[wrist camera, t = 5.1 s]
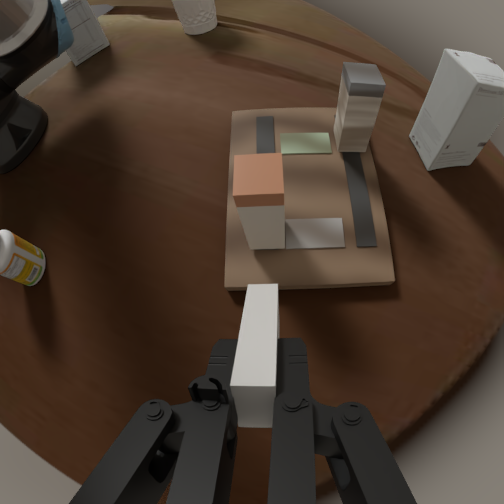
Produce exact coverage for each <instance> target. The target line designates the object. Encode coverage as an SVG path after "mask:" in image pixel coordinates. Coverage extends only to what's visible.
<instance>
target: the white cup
mask: <svg viewBox="0 0 504 504" xmlns="http://www.w3.org/2000/svg"><path fill="white" fill-rule="evenodd" d="M172 3H173V5H174V8H175V11H176V13H177V15H178V18H179V20H180V22H181V24H182V26H183V29H184V32H185V33H186V34H189V35H197V34H203V33H206V32H208V31H211V30H212V29H214V28H215V27H216V26H217V18H216V8H215V1H214V0H172Z"/></svg>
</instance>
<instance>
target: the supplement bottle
mask: <svg viewBox="0 0 504 504" xmlns="http://www.w3.org/2000/svg"><path fill="white" fill-rule="evenodd" d="M45 264H46V263H45V255H44V253H43V251H42V250H41V249H39V248H38V247H36V246H34V245H32V244H31V243H29V242H27V241H25V240H24V239H22V238H20V237H18V236H17V235H15V234H13V233H12V232H10V231H8V230H0V275H2V276H4V277H7V278H9V279H11V280H14V281H16V282H19V283H21V284H24V285H27V286H33V285H35V284H36V283H37V282H38V281H39V280H40V279H41V277H42V275H43V273H44V270H45Z"/></svg>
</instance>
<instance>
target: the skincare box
mask: <svg viewBox="0 0 504 504" xmlns="http://www.w3.org/2000/svg"><path fill="white" fill-rule="evenodd" d="M503 117H504V71H503V70H502V69H501V68H500V67H499V66H498V65H497V64H496V63H495V62H494V61H493V60H492V59H491V58H488V57H484V56H480V55H476V54H474V53H471V52H462V51H457V50H451V49H444V52H443V55H442V58H441V61H440V63H439V66H438V68H437V71H436V74H435V76H434V79H433V82H432V84H431V86H430V89H429V91H428V94H427V96H426V98H425V101H424V103H423V106H422V108H421V110H420V112H419V115H418V117H417V119H416V121H415V124H414V126H413V128H412V130H411V133H410V135H409V137H410V139H411V141H412V143H413V144H414V146H415V148H416V149H417V151H418V153H419V155H420V157H421V159H422V161H423V163H424V165H425V167H426V169H427V170H428V171H431V170H434V169H439V168H445V167H453V166H468V165H470V164H471V163H472V162H473V161H474V159H475V158H476V157H477V155H478V154H479V152H480V151H481V150H482V148H483V147H484V145H485V144H486V143H487V141H488V140H489V138H490V137H491V135H492V134H493V132H494V131H495V130H496V128H497V126H498V125H499V123H500V122H501V120H502V119H503Z"/></svg>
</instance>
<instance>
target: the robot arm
mask: <svg viewBox="0 0 504 504" xmlns="http://www.w3.org/2000/svg"><path fill="white" fill-rule="evenodd" d="M73 42H74V35H73V32H72V30H71V27H70V25H69V22H68V20H67V17H66V15H65V12H64V9H63V6H62V4H61V1H60V0H0V173H1V174H3V173H7V172H9V171H11V170H12V169H14V168H15V167H16V166H17V165H19V164H20V163H21V162H22V161H23V160H24V159H25V158H26V157H27V156H28V154H29V153H30V152H31V151H32V149H33V148H34V147H35V145H36V144H37V142H38V141H39V139H40V138H41V136H42V134H43V132H44V130H45V128H46V125H47V120H48V116H47V114H46V112H45V111H44V110H43V109H42V107H40V106H39V105H36V104H34V103H33V102H31V101H29V100H27V99H25V98H24V97H22V96H20V95H19V94H18V93H17V92H16V91H15V89H16V88H17V87H18V86H19V85H21V83H23V82H24V81H25V80H27V79H28V78H29V77H31V76H32V75H33V74H34V73H36V72H37V71H39V70H40V69H41V68H43V67H44V66H45V65H47V64H48V63H50V62H51V61H52V60H54V59H55V58H58V57H59V56H60V54H62V53H63V52H64V51H66V50H67V49H68V48H70V47H71V46H72V44H73ZM188 389H189V392H190V395H191V397H192V401H190V402H187V403H184V404H178V405H172V406H170V405H169V404H168V403H167V402H165V401H164V400H160V399H153V400H149V401H147V402H145V403H143V404H142V405H141V406H140V407H139V409H138V410H137V411H136V413H135V414H134V416H133V417H132V418H131V420H130V421H129V422H128V424H127V425H126V426H125V428H124V429H123V431H122V432H121V433H120V435H119V436H118V437H117V439H116V440H115V441H114V443H113V444H112V446H111V447H110V448H109V450H108V451H107V452H106V454H105V455H104V456H103V458H102V459H101V461H100V462H99V463H98V465H97V466H96V467H95V469H94V470H93V471H92V473H91V474H90V476H89V477H88V478H87V480H86V481H85V482H84V484H83V485H82V486H81V488H80V489H79V491H78V492H77V493H76V495H75V496H74V497H73V499H72V500H71V501H70V503H69V504H157V503H158V501H159V499H160V498H161V496H162V494H163V493H164V491H165V489H166V487H167V486H168V484H169V482H170V481H171V479H172V482H171V486H170V490H169V494H168V498H167V502H166V504H229V497H230V490H231V483H232V476H233V468H234V461H235V454H236V446H237V432H236V429H237V422H238V426H239V427H259V428H272V442H271V459H270V474H269V489H268V503H267V504H316V486H315V454H320V455H324V456H325V457H326V459H327V462H328V465H329V468H330V470H331V473H332V476H333V478H334V481H335V484H336V486H337V489H338V492H339V494H340V497H341V500H342V502H343V504H417V503H416V501H415V499H414V497H413V495H412V493H411V491H410V489H409V487H408V485H407V483H406V481H405V479H404V477H403V475H402V473H401V471H400V469H399V467H398V465H397V463H396V461H395V459H394V457H393V455H392V453H391V451H390V449H389V448H388V445H387V444H386V442H385V440H384V438H383V436H382V434H381V432H380V430H379V428H378V426H377V425H376V423H375V421H374V419H373V417H372V415H371V413H370V411H369V410H368V409H367V408H366V406H364V405H362V404H360V403H356V402H346V403H343V404H341V405H339V406H338V407H337V408H336V407H331V406H326V405H323V404H320V403H319V402H317V401H316V400H315V399H314V398H313V397H312V396H311V394H310V390H309V375H308V364H307V350H306V345H305V343H304V342H303V341H302V339H301V338H279V301H278V284H248V287H247V293H246V298H245V304H244V310H243V315H242V321H241V327H240V332H239V338H238V339H219V340H218V342H217V343H216V344H215V345H214V346H213V348H212V352H211V357H210V359H209V365H208V367H207V371H206V374H205V375H203V376H200V377H198V378H196V379H194V380H193V381H192V382H191V383H190V385H189V387H188ZM314 453H315V454H314ZM172 477H173V478H172Z"/></svg>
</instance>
